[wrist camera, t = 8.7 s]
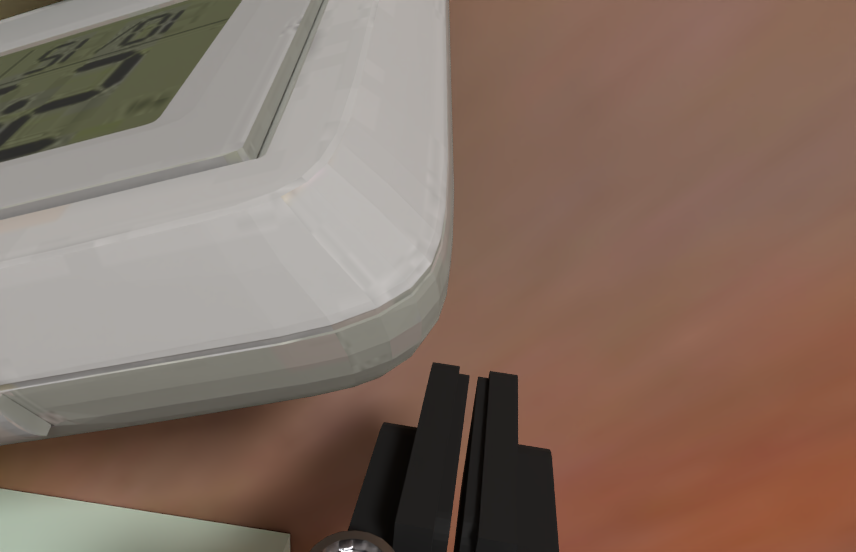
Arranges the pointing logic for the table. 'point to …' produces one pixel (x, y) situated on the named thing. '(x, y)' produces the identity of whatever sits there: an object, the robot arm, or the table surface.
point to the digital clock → (216, 204)
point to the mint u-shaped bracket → (118, 529)
